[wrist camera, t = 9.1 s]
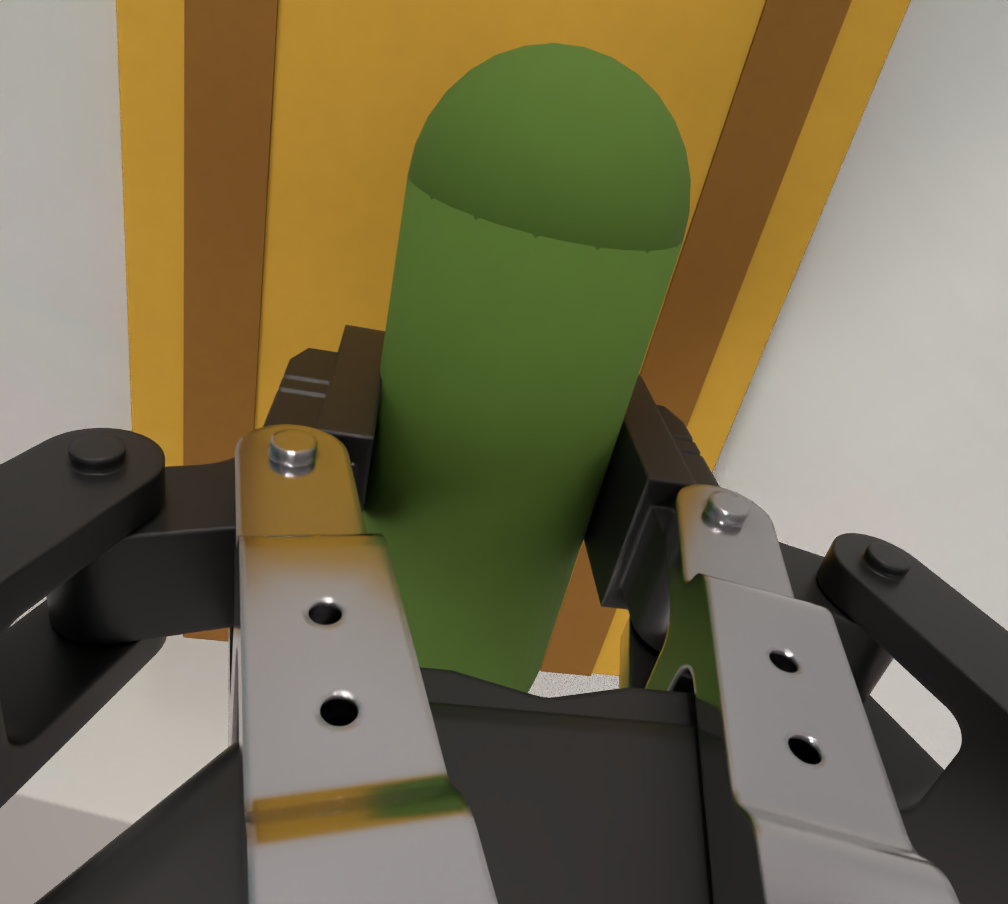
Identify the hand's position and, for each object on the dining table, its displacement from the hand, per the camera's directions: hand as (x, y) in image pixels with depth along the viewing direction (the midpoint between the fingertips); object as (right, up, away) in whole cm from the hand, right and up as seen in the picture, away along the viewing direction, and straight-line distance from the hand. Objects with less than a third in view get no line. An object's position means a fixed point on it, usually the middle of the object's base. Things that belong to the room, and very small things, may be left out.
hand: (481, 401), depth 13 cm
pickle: (0, 0, 0) cm, 0 cm away
